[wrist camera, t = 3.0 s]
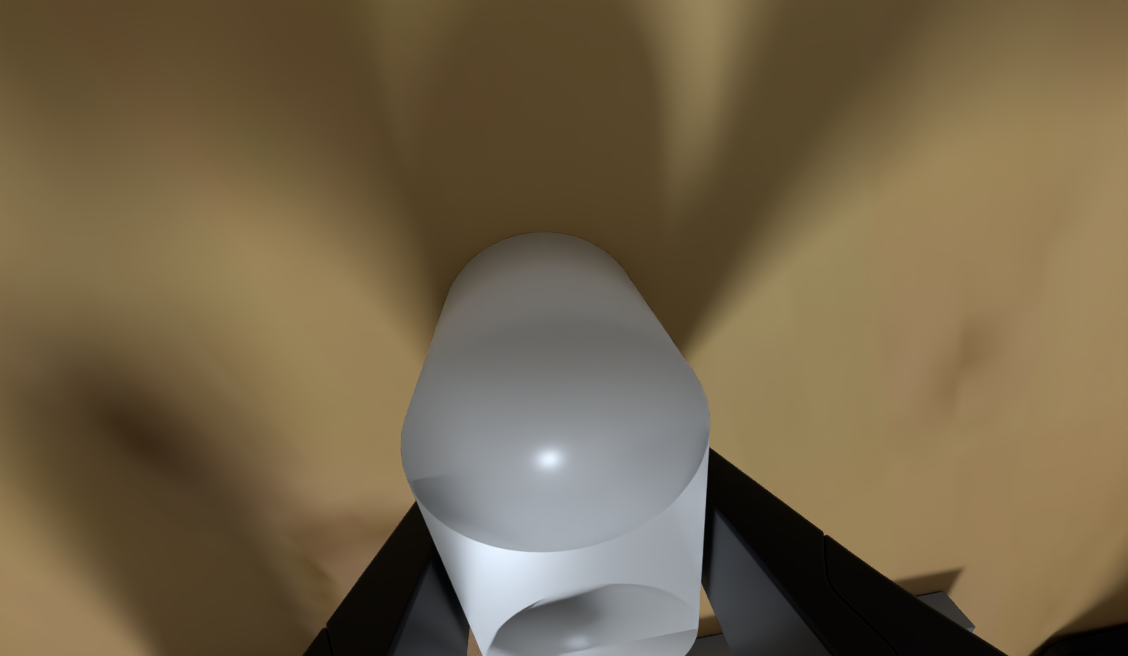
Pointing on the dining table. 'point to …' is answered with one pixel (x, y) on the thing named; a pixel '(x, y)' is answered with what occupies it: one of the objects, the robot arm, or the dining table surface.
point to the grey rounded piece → (561, 456)
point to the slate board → (715, 651)
